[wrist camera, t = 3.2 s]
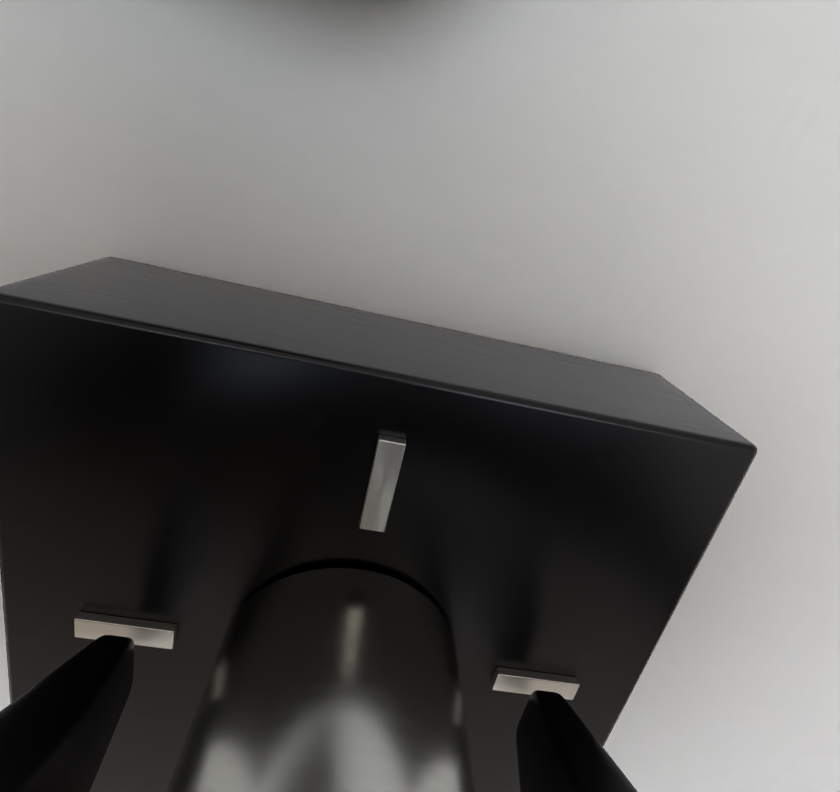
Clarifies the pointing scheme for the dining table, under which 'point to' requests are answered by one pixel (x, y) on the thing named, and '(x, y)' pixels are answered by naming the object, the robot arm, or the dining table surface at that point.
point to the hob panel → (334, 494)
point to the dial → (331, 693)
